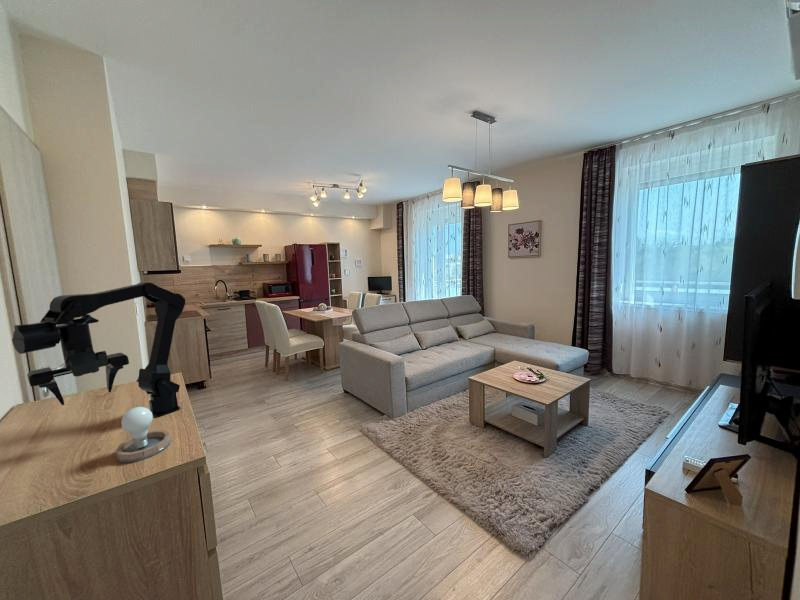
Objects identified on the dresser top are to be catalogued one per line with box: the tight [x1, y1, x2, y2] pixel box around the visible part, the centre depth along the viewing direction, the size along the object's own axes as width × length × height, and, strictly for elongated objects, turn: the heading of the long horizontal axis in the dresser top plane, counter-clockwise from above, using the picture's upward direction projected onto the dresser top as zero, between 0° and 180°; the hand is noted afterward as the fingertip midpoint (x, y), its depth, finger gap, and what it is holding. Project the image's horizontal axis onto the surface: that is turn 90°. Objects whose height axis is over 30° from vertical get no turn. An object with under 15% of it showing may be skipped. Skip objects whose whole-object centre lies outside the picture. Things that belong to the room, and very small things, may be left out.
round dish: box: [115, 429, 172, 464], centre depth 84 cm, size 11×11×2 cm
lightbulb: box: [120, 406, 154, 448], centre depth 83 cm, size 6×6×11 cm
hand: (87, 398), depth 87 cm, fingers open, 9 cm apart
